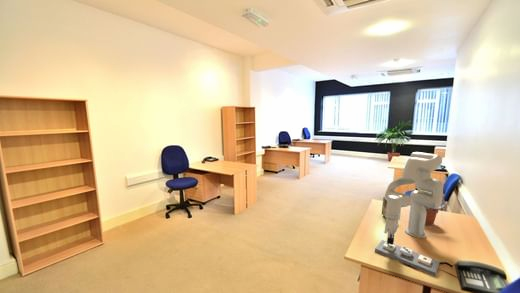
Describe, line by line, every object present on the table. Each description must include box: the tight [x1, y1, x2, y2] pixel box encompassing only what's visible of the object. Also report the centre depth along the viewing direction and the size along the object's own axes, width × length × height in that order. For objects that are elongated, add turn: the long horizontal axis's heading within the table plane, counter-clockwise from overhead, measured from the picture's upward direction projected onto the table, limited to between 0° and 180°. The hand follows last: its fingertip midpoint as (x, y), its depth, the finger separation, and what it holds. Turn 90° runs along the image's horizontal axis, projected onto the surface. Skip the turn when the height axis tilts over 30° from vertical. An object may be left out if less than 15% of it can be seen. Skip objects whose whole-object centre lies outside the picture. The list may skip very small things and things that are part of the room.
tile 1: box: [418, 254, 432, 266], centre depth 126 cm, size 6×6×4 cm
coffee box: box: [381, 196, 387, 218], centre depth 185 cm, size 9×6×16 cm
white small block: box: [400, 245, 414, 257], centre depth 132 cm, size 6×6×4 cm
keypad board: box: [374, 239, 441, 277], centre depth 132 cm, size 14×30×2 cm, turn 45°
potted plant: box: [417, 189, 440, 226], centre depth 176 cm, size 16×15×35 cm
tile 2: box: [383, 242, 397, 251], centre depth 138 cm, size 6×6×4 cm
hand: (390, 243), depth 138 cm, fingers closed
